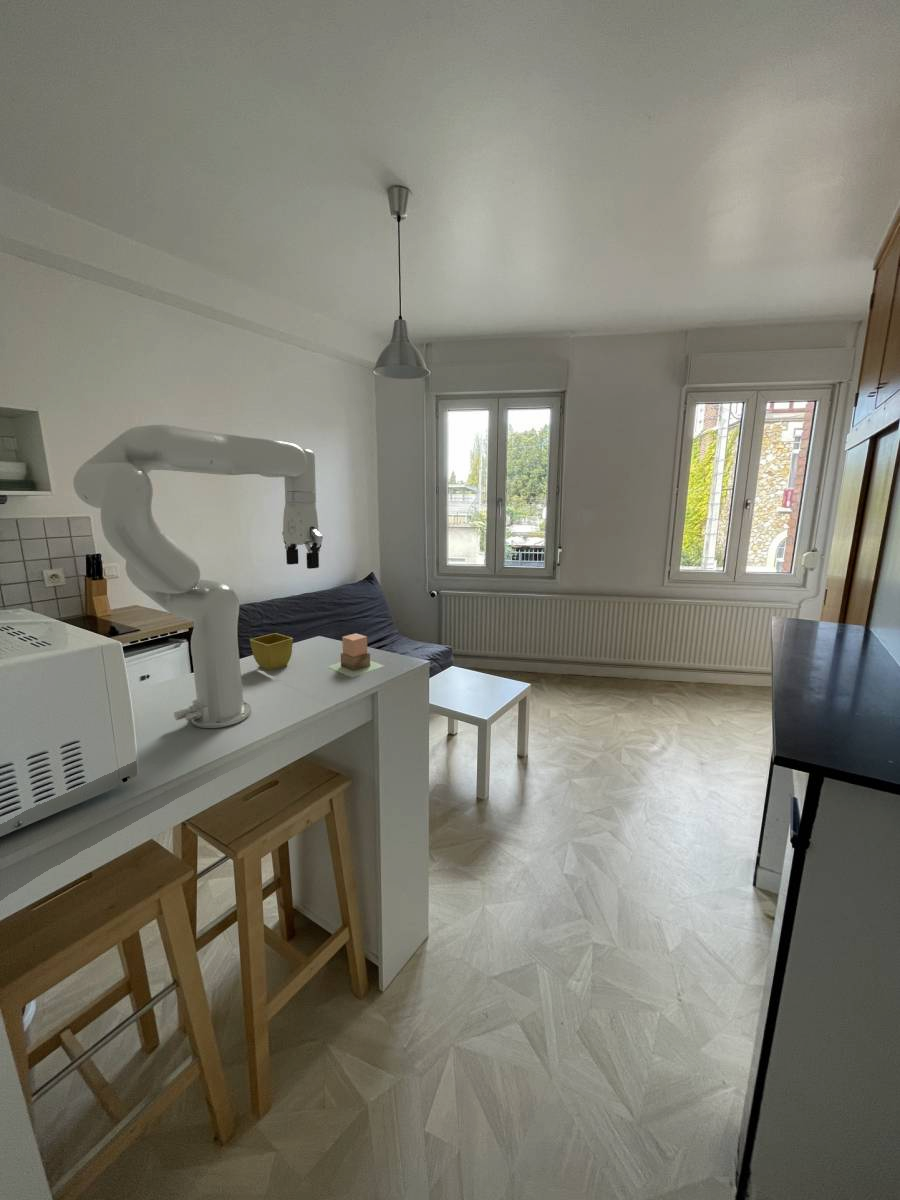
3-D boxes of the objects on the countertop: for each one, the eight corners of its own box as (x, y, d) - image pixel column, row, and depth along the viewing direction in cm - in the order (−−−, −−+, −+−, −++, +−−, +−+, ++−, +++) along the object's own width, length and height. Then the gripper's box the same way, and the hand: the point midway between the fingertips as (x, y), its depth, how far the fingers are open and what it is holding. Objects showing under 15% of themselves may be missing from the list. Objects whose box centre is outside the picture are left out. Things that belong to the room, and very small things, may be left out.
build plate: (351, 679, 136) (351, 677, 135) (326, 669, 143) (326, 666, 143) (384, 668, 144) (384, 665, 144) (359, 658, 152) (359, 656, 152)
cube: (353, 657, 139) (352, 640, 138) (342, 653, 143) (342, 636, 141) (367, 653, 143) (366, 636, 142) (356, 649, 146) (356, 633, 145)
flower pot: (277, 660, 150) (275, 632, 148) (295, 666, 145) (293, 637, 143) (251, 668, 143) (248, 639, 141) (269, 675, 138) (267, 645, 136)
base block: (353, 671, 140) (353, 658, 139) (341, 666, 143) (340, 653, 143) (370, 666, 144) (369, 653, 143) (357, 661, 148) (357, 648, 147)
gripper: (269, 498, 128) (272, 563, 131) (306, 499, 116) (308, 571, 120) (295, 499, 133) (297, 561, 137) (332, 500, 122) (334, 568, 125)
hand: (302, 566), depth 128 cm, fingers open, 9 cm apart
